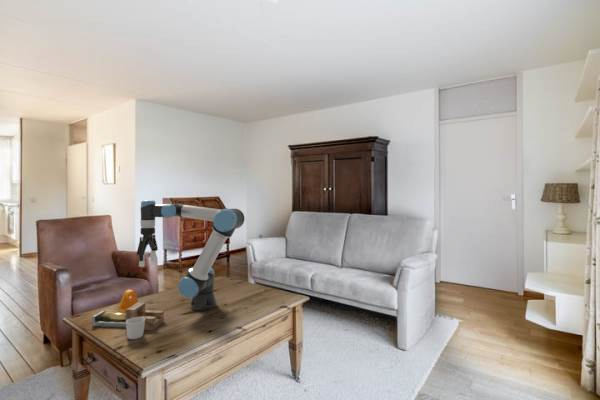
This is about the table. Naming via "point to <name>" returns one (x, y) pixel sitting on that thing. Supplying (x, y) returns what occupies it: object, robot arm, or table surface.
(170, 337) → the table surface
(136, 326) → the cup
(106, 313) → the axle
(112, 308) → the table surface
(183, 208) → the robot arm
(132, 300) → the bracket
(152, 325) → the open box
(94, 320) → the v block
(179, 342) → the table surface
